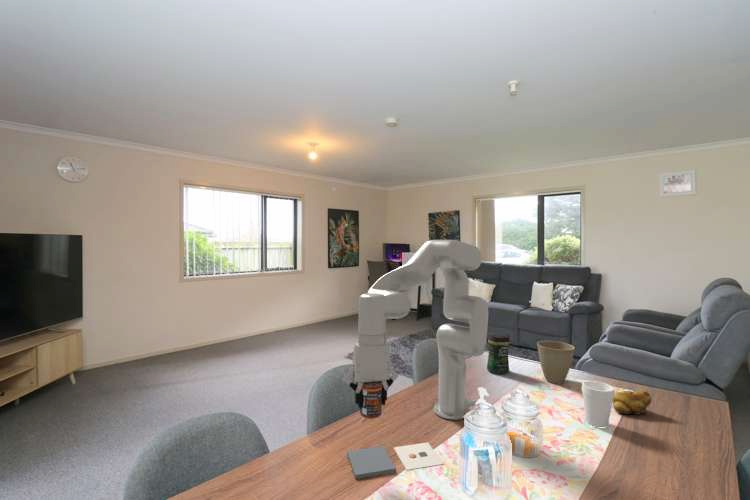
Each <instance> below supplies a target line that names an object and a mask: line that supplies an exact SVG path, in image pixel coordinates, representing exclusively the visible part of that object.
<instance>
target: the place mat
mask: <svg viewBox="0 0 750 500" xmlns="http://www.w3.org/2000/svg"><path fill="white" fill-rule="evenodd" d="M346 456H347V460H348V461H349V465H350V468H351V469H352V474H353V477H354V479H362V478H368V477H375V476H382V475H388V474H392V473H393V474H394V473H396V472H397V468H396V466H395V464H394V461H393V460H392V459H391V456H390V455H389V453H388V451H387V449H386V447H385V446H384V445H382V446H373V447H368V448H367V447H366V448H361V449H353V450H347V451H346Z"/></svg>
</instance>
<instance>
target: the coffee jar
mask: <svg viewBox="0 0 750 500" xmlns="http://www.w3.org/2000/svg"><path fill="white" fill-rule="evenodd" d="M487 337H488V339H487V342H488V358H487V363H486V364H487V365H486V370H487V371H488V372H489V371H490V372H489V373H491V372H492V373H493V374H496V375H499V374H508V373H509V372H510V364H509V363H510V362H509V346H510V340H511V339H510V334H509V333H508V332H507V333H506V332H503V331H502V332H500V331H499V332H490V333H488V336H487Z"/></svg>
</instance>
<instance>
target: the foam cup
mask: <svg viewBox="0 0 750 500" xmlns="http://www.w3.org/2000/svg"><path fill="white" fill-rule="evenodd" d="M581 393H582V399H583V407H584V409H583V410H584V416H585V423H586V422H587V423H588V424H587V423H586V424H587V425H589V424H590V425H592V426H591V427H593V426H595V427H594V428H596V427H606V426H608V427H609V422H610V415H611V410H612V406H613V397H614V394H615V387H614V386H612V385H610V384H608V383H605V382H601V381H597V380H583V381H582V382H581ZM590 425H589V426H590Z"/></svg>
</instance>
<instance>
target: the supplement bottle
mask: <svg viewBox="0 0 750 500" xmlns="http://www.w3.org/2000/svg"><path fill="white" fill-rule="evenodd" d="M361 393H362V407H361V408H359V413H360V415H361V416H362V417H363V418H364V419H371V420H372V419H377V418H379V417H381V415H382V407H383V405H382V383H381V381H374V380H372V382H366V383H363V385H362V388H361Z"/></svg>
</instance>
